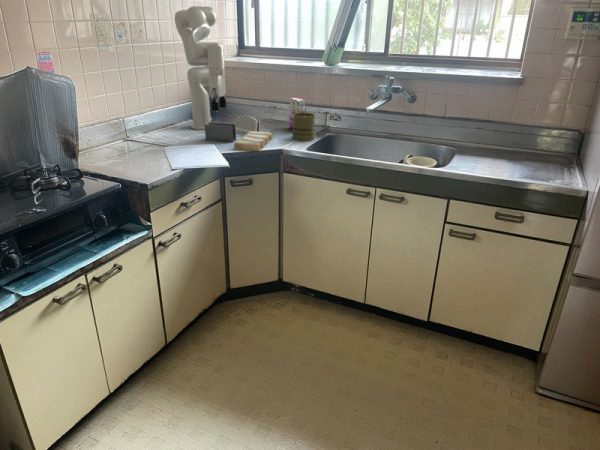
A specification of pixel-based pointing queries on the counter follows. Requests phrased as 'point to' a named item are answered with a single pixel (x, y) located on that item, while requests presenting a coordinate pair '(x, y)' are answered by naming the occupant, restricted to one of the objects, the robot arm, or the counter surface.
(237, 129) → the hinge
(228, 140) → the housing
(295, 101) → the candy bar box
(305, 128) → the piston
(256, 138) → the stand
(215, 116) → the counter surface
